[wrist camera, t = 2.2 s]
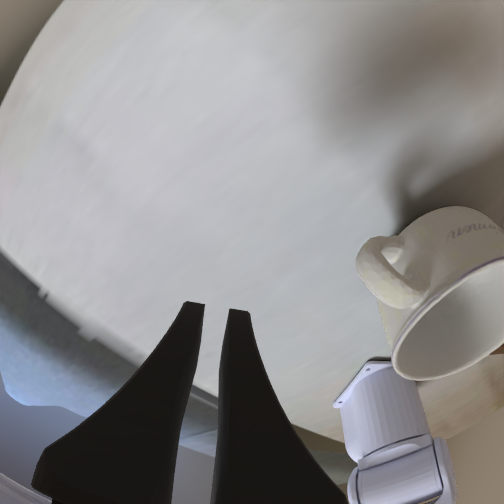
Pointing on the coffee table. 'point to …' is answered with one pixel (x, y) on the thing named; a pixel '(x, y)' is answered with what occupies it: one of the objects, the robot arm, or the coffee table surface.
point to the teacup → (438, 291)
